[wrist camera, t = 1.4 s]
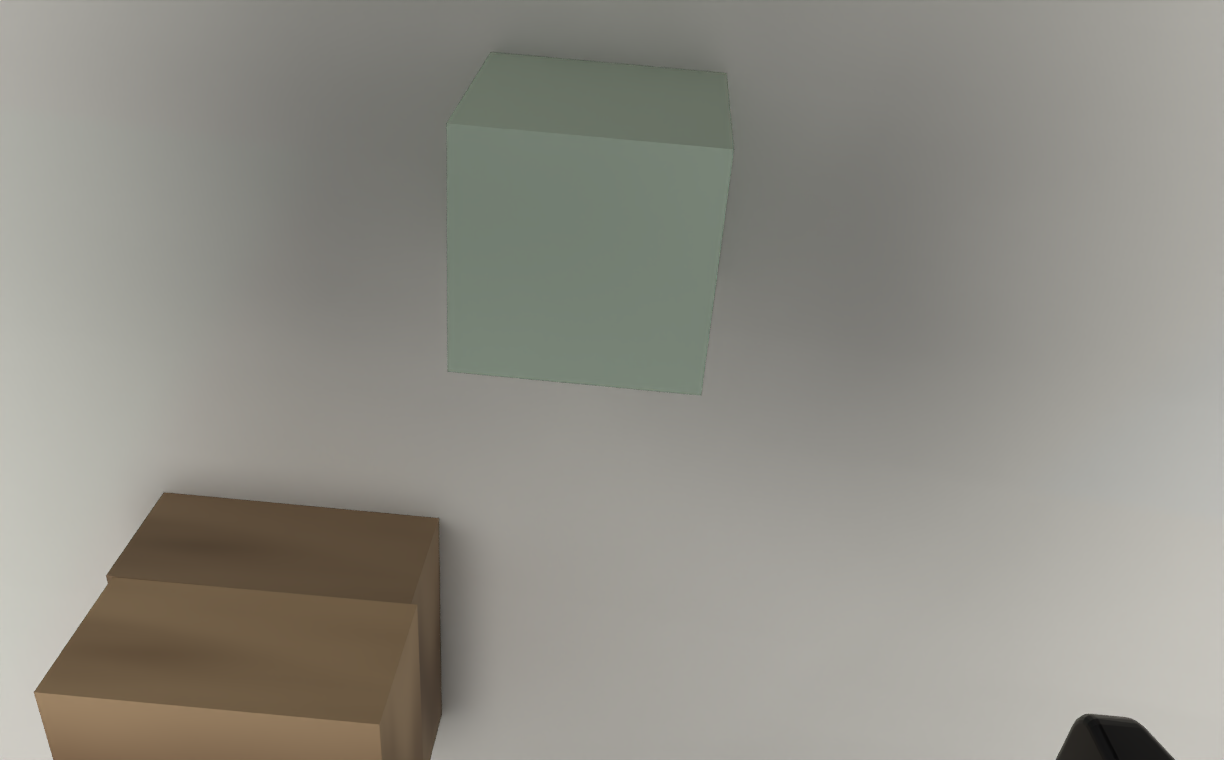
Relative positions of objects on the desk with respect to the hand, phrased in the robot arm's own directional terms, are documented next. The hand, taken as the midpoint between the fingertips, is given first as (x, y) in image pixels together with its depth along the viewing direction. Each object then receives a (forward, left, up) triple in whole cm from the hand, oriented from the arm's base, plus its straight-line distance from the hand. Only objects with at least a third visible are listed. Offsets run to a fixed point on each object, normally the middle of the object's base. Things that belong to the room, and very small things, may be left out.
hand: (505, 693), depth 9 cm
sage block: (0, 0, -13) cm, 13 cm away
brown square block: (-11, +6, -10) cm, 16 cm away
